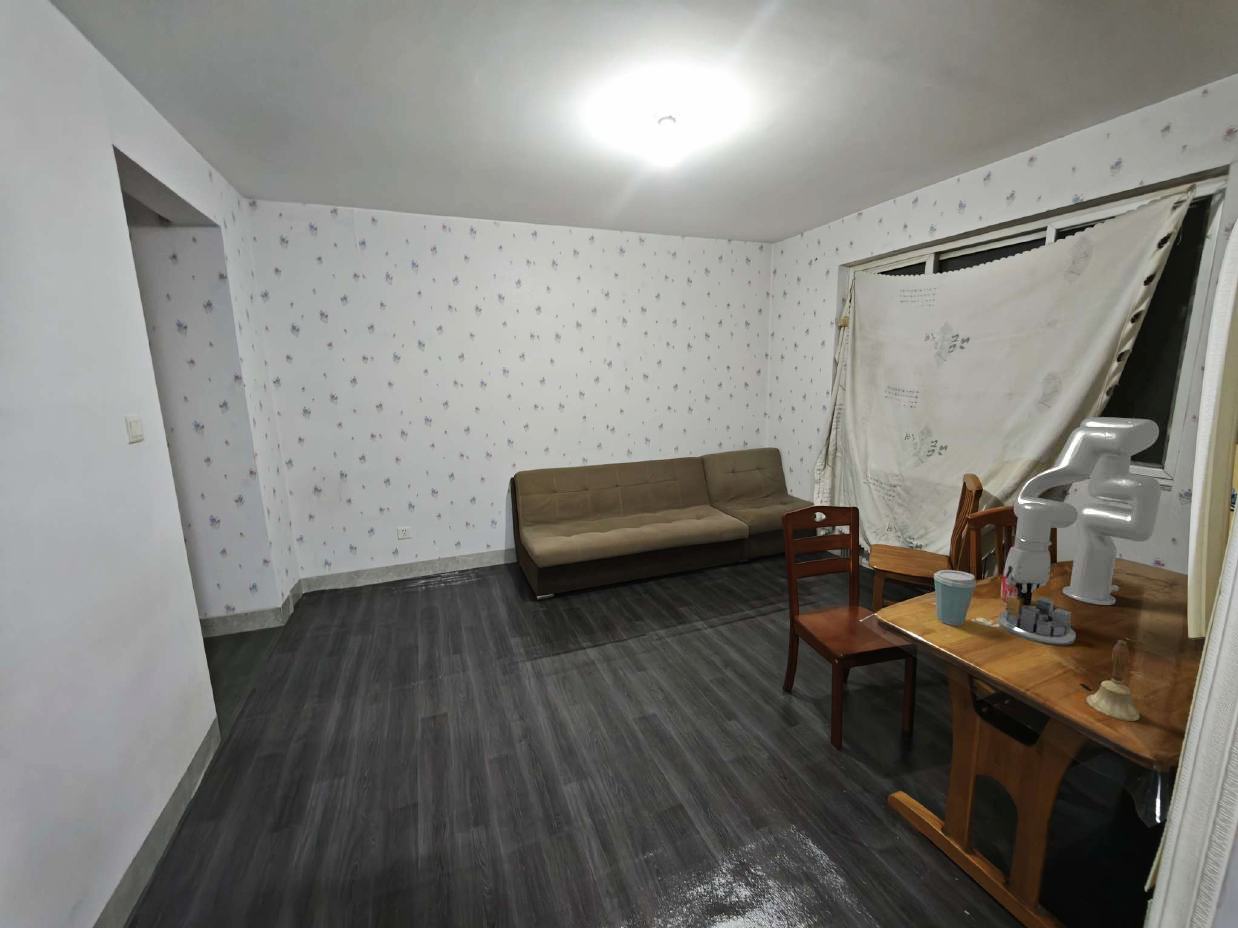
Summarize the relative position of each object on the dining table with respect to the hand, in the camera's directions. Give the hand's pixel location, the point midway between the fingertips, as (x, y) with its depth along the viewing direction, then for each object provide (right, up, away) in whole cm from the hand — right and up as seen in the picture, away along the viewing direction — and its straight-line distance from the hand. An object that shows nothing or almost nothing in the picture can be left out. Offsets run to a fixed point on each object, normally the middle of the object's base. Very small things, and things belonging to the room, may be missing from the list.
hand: (1023, 603), depth 145 cm
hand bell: (-13, -12, -38) cm, 42 cm away
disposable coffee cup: (-21, -6, +1) cm, 22 cm away
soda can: (+8, -3, +13) cm, 16 cm away
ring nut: (0, -4, -5) cm, 7 cm away
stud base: (0, -6, -4) cm, 8 cm away
